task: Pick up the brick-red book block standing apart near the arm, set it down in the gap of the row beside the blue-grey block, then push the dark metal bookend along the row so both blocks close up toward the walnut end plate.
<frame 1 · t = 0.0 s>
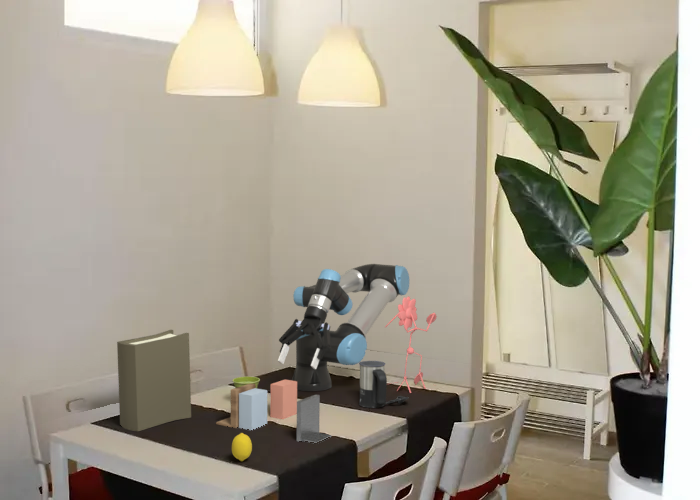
hand: (296, 365, 278), 15 cm above the table, fingers open, 13 cm apart
shelf end: (243, 423, 262), on the table
book: (154, 422, 263), on the table
pink daisy dancer statuette: (403, 388, 311), on the table
red block: (283, 415, 272), on the table
milk frother: (383, 405, 287), on the table
bookend: (315, 419, 247), point 6 cm above the table, slide at 0.0 cm
lemon: (241, 462, 227), on the table
plant pot: (246, 404, 286), on the table
blue block: (253, 426, 260), on the table
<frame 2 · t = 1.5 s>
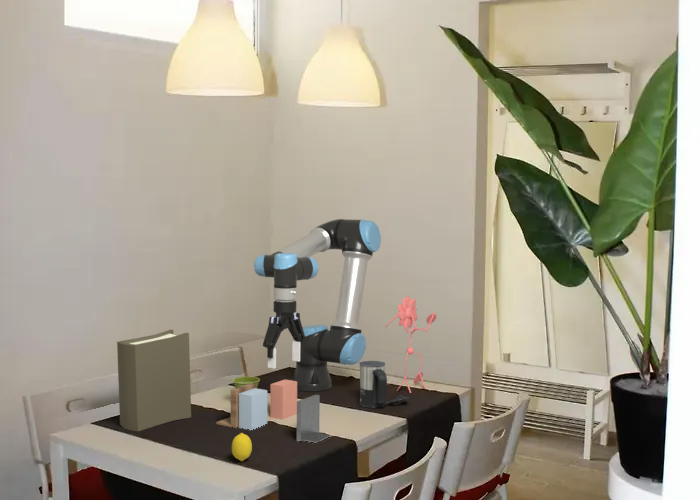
hand: (284, 364, 271), 17 cm above the table, fingers open, 13 cm apart
nothing on the table moved.
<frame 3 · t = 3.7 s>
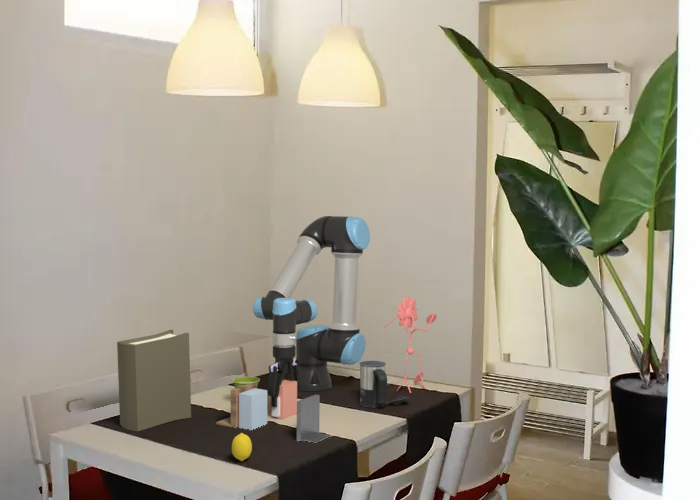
hand: (283, 413, 272), 1 cm above the table, fingers closed on red block, 8 cm apart
red block: (283, 415, 272), on the table, touching gripper
everything else where it was.
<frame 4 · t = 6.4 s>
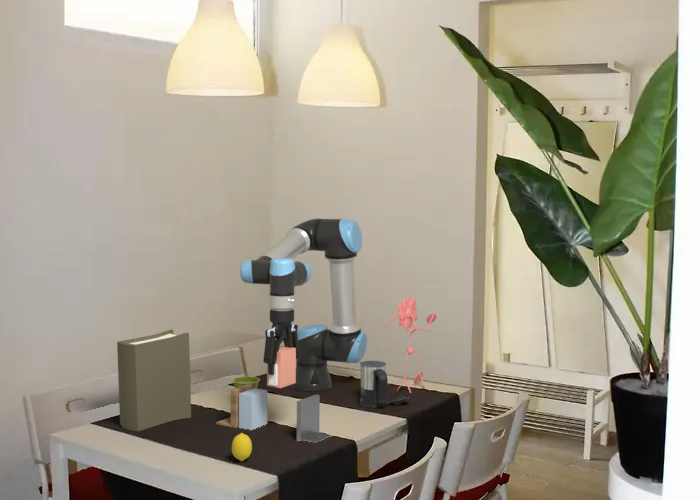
hand: (281, 382, 253), 16 cm above the table, fingers closed on red block, 8 cm apart
red block: (281, 384, 253), point 15 cm above the table, touching gripper
everything else where it was.
when the fingers open (2 cm above the table, at t = 9.1 s): red block drops 1 cm, on the table.
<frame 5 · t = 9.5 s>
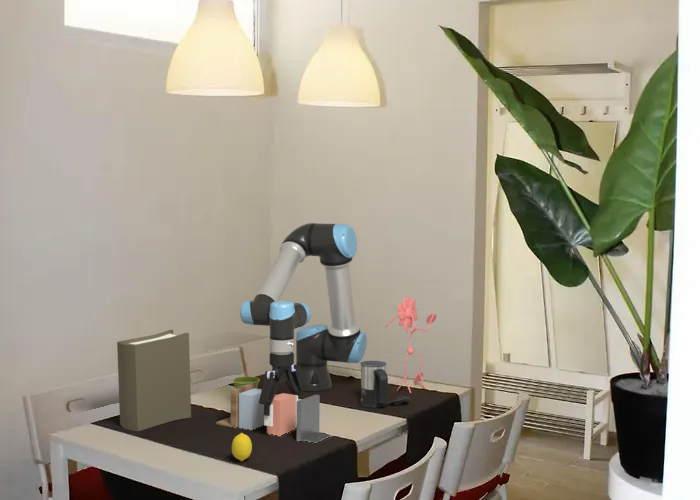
hand: (281, 420, 254), 4 cm above the table, fingers open, 12 cm apart
red block: (281, 431, 254), on the table
everything else where it was.
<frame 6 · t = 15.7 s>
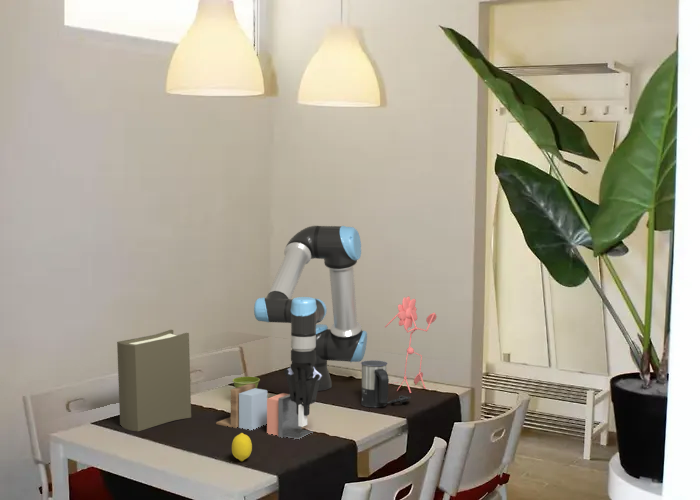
hand: (302, 425, 250), 3 cm above the table, fingers closed
bookend: (296, 415, 251), point 6 cm above the table, slide at 6.8 cm, touching hand
everything else where it was.
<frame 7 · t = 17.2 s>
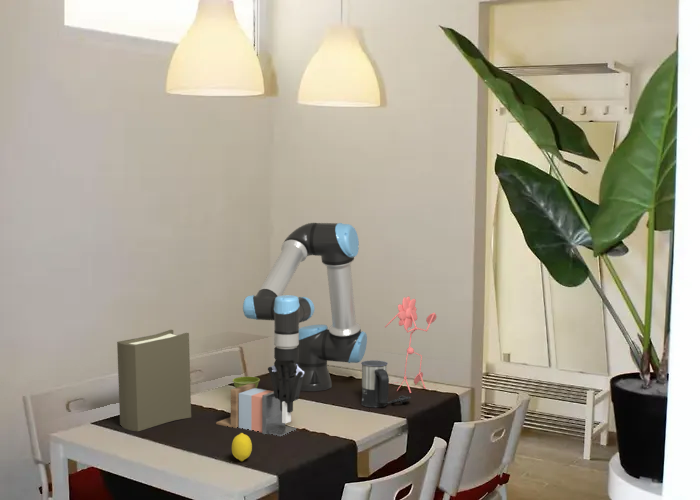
hand: (286, 422, 253), 3 cm above the table, fingers closed
red block: (265, 428, 258), on the table, touching blue block, bookend
bookend: (280, 412, 254), point 6 cm above the table, slide at 12.9 cm, touching hand, red block
blue block: (253, 425, 260), on the table, touching red block
everything else where it was.
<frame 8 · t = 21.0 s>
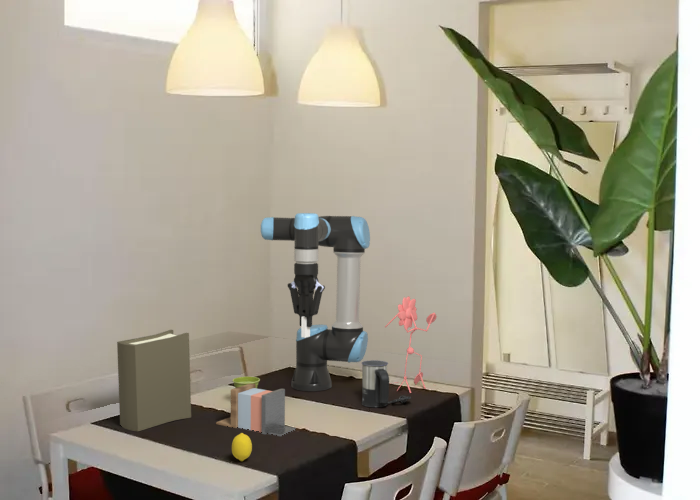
hand: (305, 336, 260), 28 cm above the table, fingers closed
red block: (264, 428, 258), on the table, touching bookend
bookend: (279, 412, 254), point 6 cm above the table, slide at 13.1 cm, touching red block
blue block: (252, 425, 260), on the table
at the end: red block inside the target area (0.9 cm from its centre), on the table; red block tilted 0°; bookend slide at 13.1 cm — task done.
